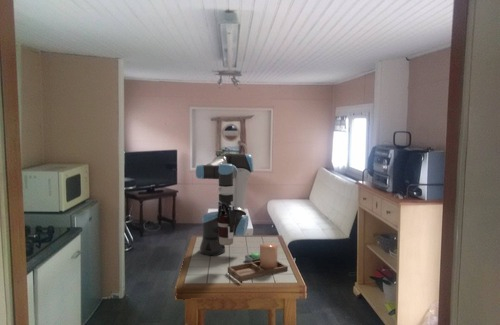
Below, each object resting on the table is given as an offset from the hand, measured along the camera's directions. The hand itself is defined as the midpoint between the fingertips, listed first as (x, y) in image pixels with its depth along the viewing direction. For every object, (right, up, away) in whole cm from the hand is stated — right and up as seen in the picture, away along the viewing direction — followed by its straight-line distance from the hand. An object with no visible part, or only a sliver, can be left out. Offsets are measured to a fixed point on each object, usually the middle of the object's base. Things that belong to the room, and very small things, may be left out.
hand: (226, 235), depth 202 cm
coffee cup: (0, -4, +1) cm, 4 cm away
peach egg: (+22, -16, -4) cm, 28 cm away
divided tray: (+16, -18, -7) cm, 25 cm away
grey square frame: (+15, -16, +6) cm, 23 cm away
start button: (+15, -14, +6) cm, 22 cm away
